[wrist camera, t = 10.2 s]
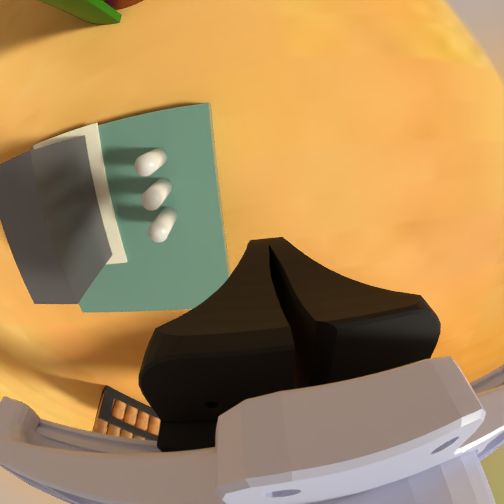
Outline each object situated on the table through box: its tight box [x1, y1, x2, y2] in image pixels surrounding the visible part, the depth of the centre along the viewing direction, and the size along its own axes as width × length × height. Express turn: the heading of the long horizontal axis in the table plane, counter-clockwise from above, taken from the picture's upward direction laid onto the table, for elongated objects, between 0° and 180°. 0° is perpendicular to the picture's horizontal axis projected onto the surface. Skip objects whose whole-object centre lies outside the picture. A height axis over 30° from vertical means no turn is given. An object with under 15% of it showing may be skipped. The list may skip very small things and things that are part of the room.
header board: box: [31, 103, 230, 312], centre depth 18 cm, size 15×14×4 cm
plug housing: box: [0, 135, 112, 304], centre depth 14 cm, size 9×4×6 cm, turn 4°
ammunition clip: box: [92, 386, 161, 441], centre depth 26 cm, size 11×2×12 cm, turn 49°
